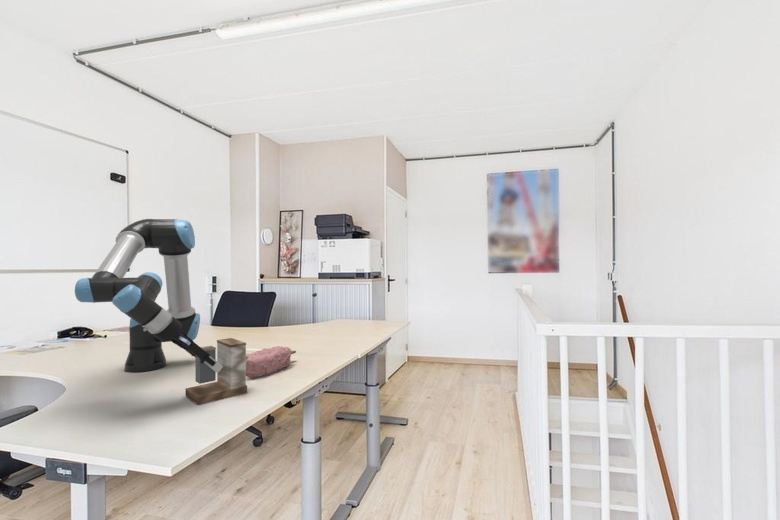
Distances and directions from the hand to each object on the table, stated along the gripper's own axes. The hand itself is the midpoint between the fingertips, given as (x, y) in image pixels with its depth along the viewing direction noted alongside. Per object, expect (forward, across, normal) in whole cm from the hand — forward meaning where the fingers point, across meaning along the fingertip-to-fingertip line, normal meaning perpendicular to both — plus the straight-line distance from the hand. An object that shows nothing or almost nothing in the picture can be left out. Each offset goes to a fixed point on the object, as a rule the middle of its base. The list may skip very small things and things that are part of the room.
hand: (217, 368), depth 131 cm
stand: (+6, 0, -6) cm, 9 cm away
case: (0, 0, -5) cm, 5 cm away
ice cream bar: (+26, -15, +13) cm, 33 cm away
